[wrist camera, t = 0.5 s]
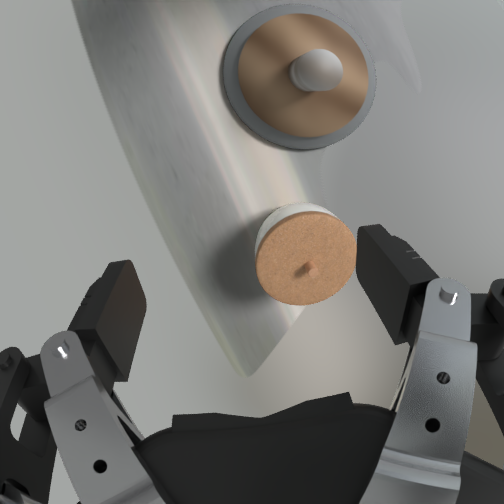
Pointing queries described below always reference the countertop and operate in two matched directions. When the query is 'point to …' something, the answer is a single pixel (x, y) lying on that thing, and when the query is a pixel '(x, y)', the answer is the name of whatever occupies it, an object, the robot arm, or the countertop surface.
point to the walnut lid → (303, 75)
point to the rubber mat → (246, 112)
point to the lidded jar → (304, 254)
